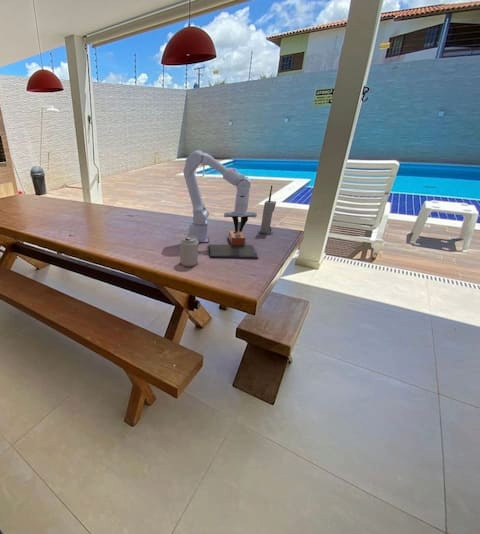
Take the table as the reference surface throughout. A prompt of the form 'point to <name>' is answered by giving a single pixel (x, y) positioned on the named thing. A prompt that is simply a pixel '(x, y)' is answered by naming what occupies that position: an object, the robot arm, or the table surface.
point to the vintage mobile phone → (267, 215)
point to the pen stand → (236, 238)
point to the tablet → (232, 251)
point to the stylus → (238, 229)
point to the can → (189, 251)
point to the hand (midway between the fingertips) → (238, 231)
